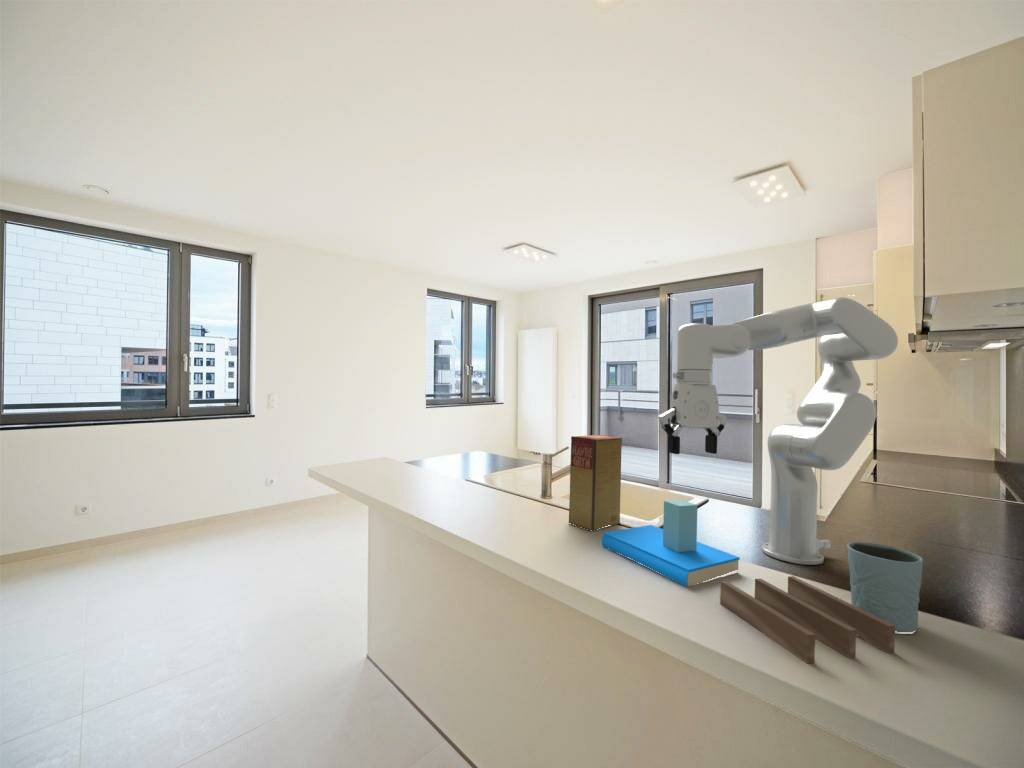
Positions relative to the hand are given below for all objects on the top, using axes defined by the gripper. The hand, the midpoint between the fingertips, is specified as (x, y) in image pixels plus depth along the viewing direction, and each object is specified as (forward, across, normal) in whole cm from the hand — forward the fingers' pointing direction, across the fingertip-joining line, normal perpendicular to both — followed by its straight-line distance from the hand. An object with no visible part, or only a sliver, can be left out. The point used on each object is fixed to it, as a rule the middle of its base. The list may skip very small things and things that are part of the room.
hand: (692, 453), depth 101 cm
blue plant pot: (+25, +16, -30) cm, 42 cm away
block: (+21, -3, 0) cm, 21 cm away
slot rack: (+24, 0, -28) cm, 37 cm away
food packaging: (+25, -10, +30) cm, 40 cm away
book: (+25, -5, +2) cm, 26 cm away
